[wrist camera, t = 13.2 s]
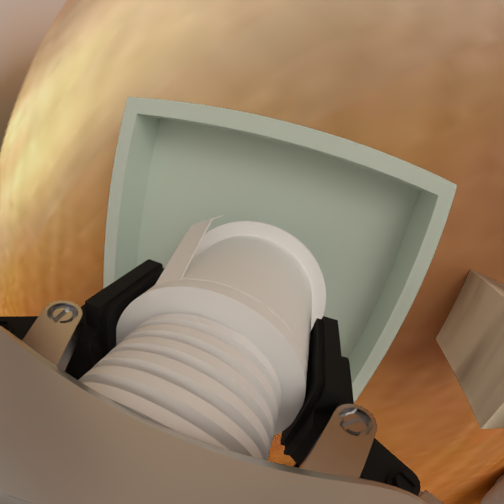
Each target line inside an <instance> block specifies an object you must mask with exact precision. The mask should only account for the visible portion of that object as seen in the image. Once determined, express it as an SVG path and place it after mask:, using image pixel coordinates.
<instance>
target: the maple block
mask: <svg viewBox="0 0 504 504" xmlns="http://www.w3.org/2000/svg"><path fill="white" fill-rule="evenodd" d="M436 341H437V343H438V345H439V346H440V348H441V350H442V352H443V353H444V355H445V357H446V359H447V361H448V362H449V364H450V366H451V368H452V370H453V372H454V374H455V375H456V377H457V379H458V381H459V383H460V385H461V387H462V389H463V391H464V393H465V395H466V397H467V399H468V401H469V404H470V406H471V408H472V410H473V412H474V414H475V417H476V419H477V421H478V423H479V426H480V428H481V429H490V428H504V284H502V283H500V282H498V281H496V280H493V279H491V278H489V277H487V276H484V275H482V274H480V273H478V272H475V271H473V270H471V269H470V271H469V274H468V276H467V278H466V280H465V283H464V285H463V287H462V289H461V291H460V293H459V295H458V298H457V300H456V302H455V304H454V306H453V308H452V309H451V311H450V313H449V315H448V317H447V319H446V321H445V323H444V324H443V326H442V328H441V330H440V332H439V333H438V335H437V337H436Z"/></svg>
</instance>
